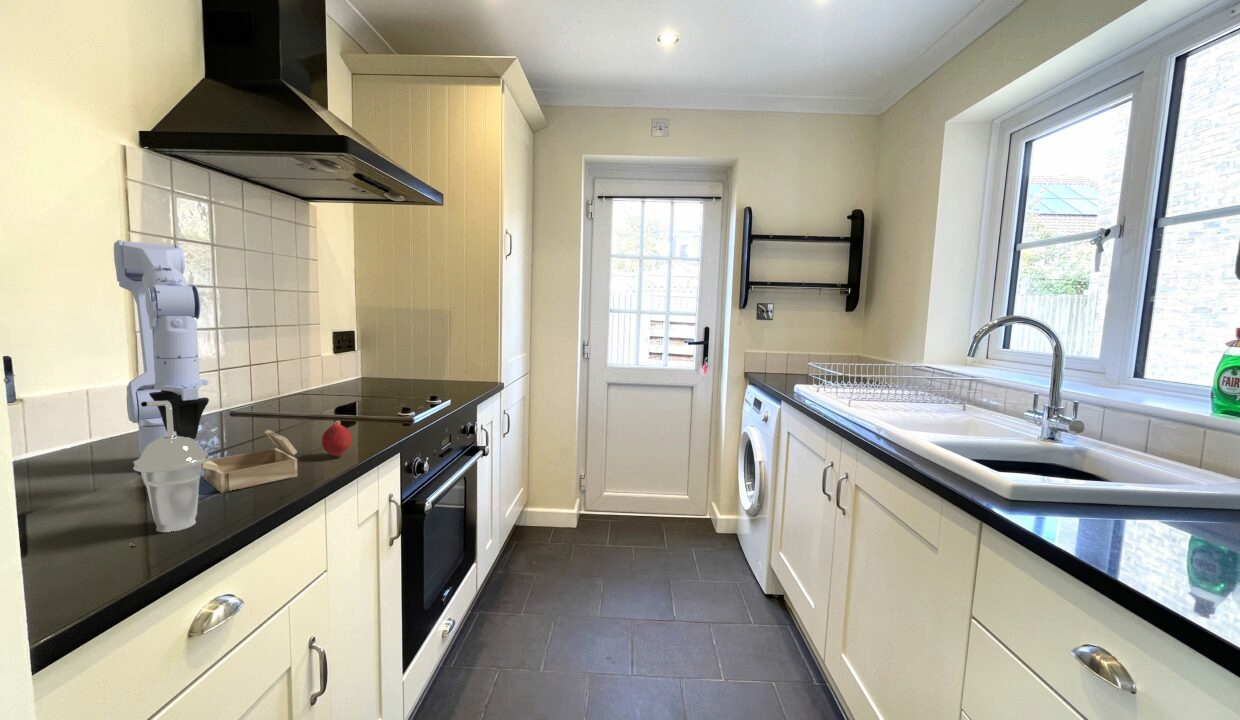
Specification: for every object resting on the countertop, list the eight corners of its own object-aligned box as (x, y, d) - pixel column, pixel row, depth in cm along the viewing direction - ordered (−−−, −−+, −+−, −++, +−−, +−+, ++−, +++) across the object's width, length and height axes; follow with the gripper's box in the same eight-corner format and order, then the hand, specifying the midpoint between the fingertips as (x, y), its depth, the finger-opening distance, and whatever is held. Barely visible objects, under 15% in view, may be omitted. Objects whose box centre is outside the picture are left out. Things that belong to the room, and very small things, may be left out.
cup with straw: (226, 518, 80) (220, 392, 77) (162, 544, 71) (153, 403, 69) (185, 510, 82) (178, 387, 79) (117, 535, 73) (107, 397, 71)
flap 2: (264, 431, 102) (268, 429, 102) (275, 445, 103) (279, 442, 104) (282, 440, 96) (286, 438, 97) (293, 454, 98) (297, 452, 99)
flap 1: (203, 455, 94) (200, 459, 94) (180, 449, 91) (178, 454, 91) (219, 466, 89) (216, 470, 89) (195, 460, 86) (193, 465, 86)
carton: (203, 478, 95) (202, 460, 95) (276, 464, 105) (275, 447, 104) (222, 494, 89) (221, 474, 88) (298, 476, 98) (298, 459, 98)
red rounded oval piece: (339, 462, 108) (338, 425, 107) (315, 459, 109) (314, 422, 108) (358, 454, 113) (357, 419, 112) (335, 451, 115) (335, 417, 114)
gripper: (219, 359, 85) (223, 439, 87) (193, 351, 94) (197, 423, 95) (163, 362, 79) (169, 447, 81) (141, 353, 88) (146, 430, 90)
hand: (180, 435), depth 88 cm, fingers open, 7 cm apart
